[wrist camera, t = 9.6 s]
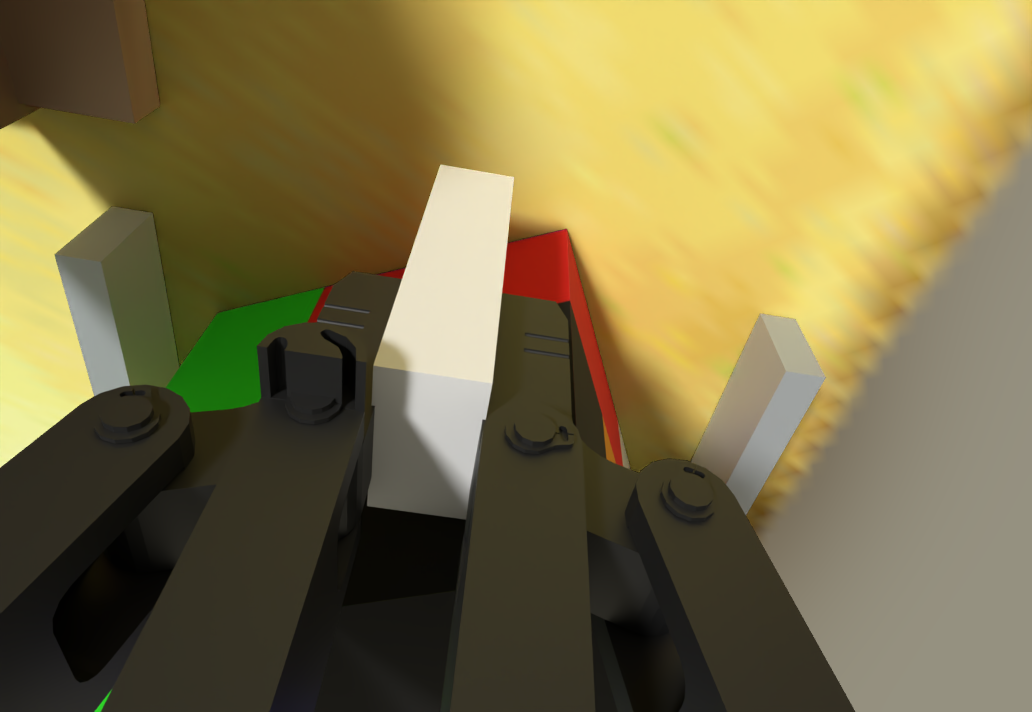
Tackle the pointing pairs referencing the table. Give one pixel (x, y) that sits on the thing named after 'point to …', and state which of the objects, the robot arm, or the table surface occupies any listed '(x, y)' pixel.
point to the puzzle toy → (400, 534)
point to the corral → (153, 361)
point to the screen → (76, 59)
